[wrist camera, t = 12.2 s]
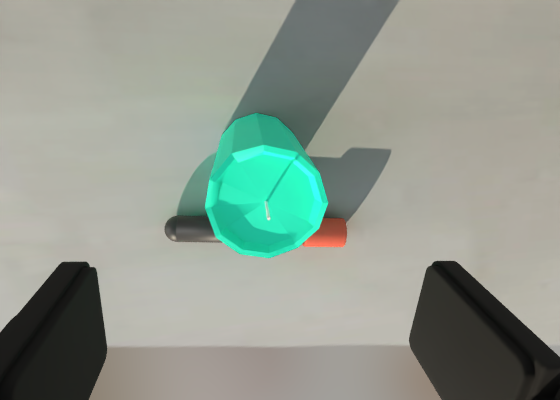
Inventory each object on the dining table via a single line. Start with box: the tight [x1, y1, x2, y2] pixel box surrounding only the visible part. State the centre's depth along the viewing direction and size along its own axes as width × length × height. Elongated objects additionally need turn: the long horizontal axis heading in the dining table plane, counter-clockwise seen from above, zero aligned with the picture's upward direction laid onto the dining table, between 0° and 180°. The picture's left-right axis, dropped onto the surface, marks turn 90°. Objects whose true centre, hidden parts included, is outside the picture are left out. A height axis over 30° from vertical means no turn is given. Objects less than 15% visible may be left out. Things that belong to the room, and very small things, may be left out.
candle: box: [205, 113, 328, 258], centre depth 22 cm, size 6×6×12 cm
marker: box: [165, 216, 347, 247], centre depth 28 cm, size 14×2×2 cm, turn 86°
